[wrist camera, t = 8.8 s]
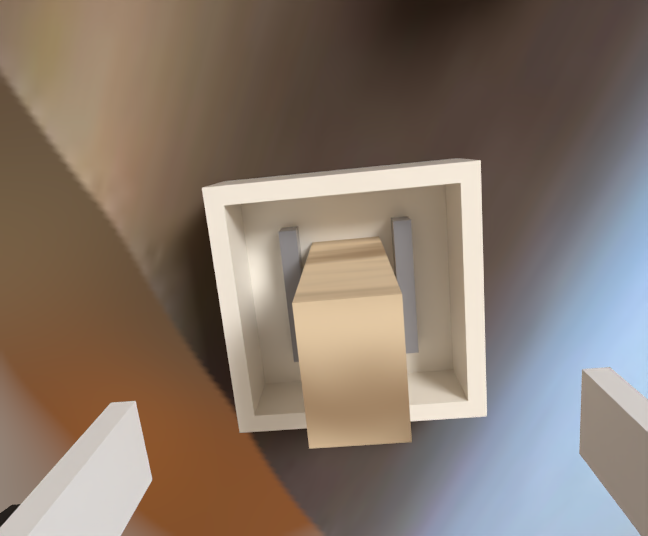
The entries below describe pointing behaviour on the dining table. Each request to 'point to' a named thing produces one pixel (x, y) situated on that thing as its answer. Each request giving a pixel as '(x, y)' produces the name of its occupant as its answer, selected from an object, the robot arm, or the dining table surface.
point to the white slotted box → (405, 259)
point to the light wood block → (352, 346)
